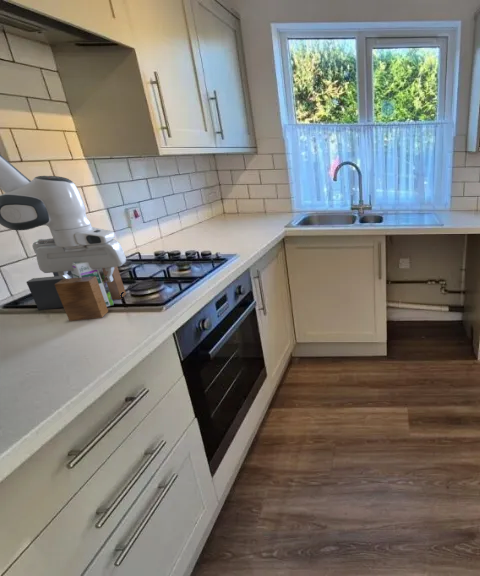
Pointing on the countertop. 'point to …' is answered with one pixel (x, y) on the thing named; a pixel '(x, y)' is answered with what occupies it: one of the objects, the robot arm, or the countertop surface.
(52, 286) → the grey boxes
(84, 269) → the syrup box
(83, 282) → the wooden blocks
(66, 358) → the countertop surface
